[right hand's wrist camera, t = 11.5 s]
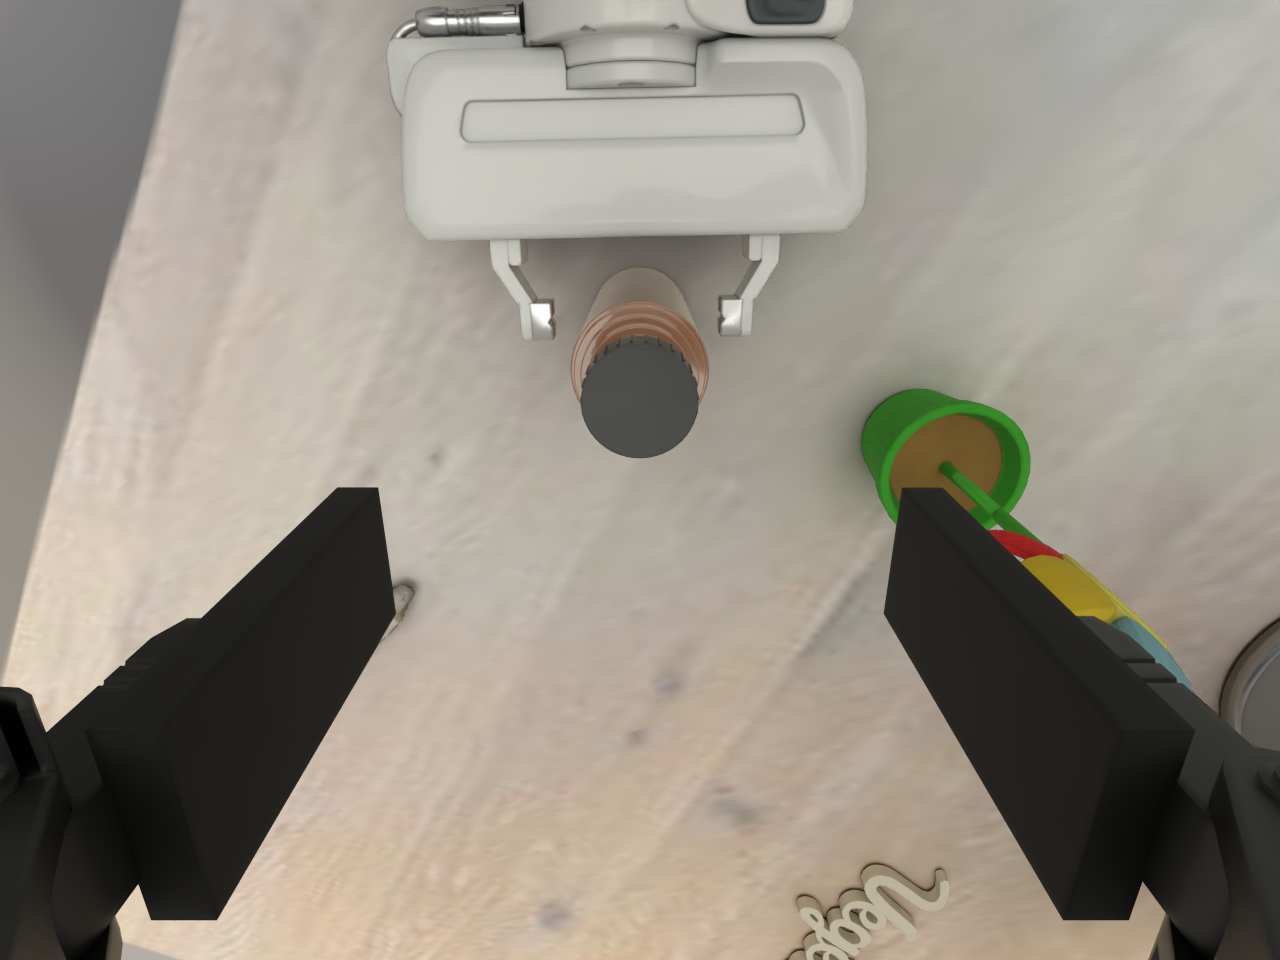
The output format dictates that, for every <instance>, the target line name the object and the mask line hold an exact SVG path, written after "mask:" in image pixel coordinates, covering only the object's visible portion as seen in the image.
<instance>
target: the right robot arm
mask: <svg viewBox="0 0 1280 960" xmlns="http://www.w3.org/2000/svg"><path fill="white" fill-rule="evenodd" d="M395 615H396V609H395V602H394V595H393V588H392V581H391V574H390V567H389V560H388V553H387V546H386V539H385V532H384V525H383V518H382V511H381V504H380V497H379V490H378V488H336V489H335V490H334V491H333V492H332V493H331V494H330V495H329V496H328V497H327V498H326V499H325V500H324V501H323V502H322V503H321V504H320V505H319V506H318V507H317V508H316V509H315V510H314V511H312V512H311V513H310V514H309V515H308V516H307V517H306V518H305V519H304V520H303V521H302V522H301V523H300V524H299V525H298V526H297V527H296V528H295V529H294V530H293V531H292V532H291V533H290V534H289V535H287V536H286V537H285V538H284V539H283V540H282V541H281V542H280V543H279V544H278V545H277V546H276V547H275V548H274V549H273V550H272V551H271V552H270V553H269V554H268V555H267V556H266V557H265V558H264V559H262V560H261V561H260V562H259V563H258V564H257V565H256V566H255V567H254V568H253V569H252V570H251V571H250V572H249V573H248V574H247V575H246V576H245V577H244V578H243V579H242V580H241V581H240V582H239V583H237V584H236V585H235V586H234V587H233V588H232V589H231V590H230V591H229V592H228V593H227V594H226V595H225V596H224V597H223V598H222V599H221V600H220V601H219V602H218V603H217V604H216V605H215V606H214V607H212V608H211V609H210V610H209V611H208V612H207V613H206V614H205V615H204V616H203V617H202V618H187V619H185V620H183V621H181V622H179V623H178V624H176V625H174V626H172V627H170V628H168V629H167V630H165V631H163V632H161V633H159V634H158V635H156V636H154V637H152V638H151V639H150V640H148V641H147V642H146V643H145V644H144V645H143V646H142V647H141V648H140V649H138V650H137V651H136V652H135V653H134V654H133V655H132V656H131V657H130V658H128V659H127V660H126V661H125V662H126V664H125V666H120V667H119V668H117V669H116V670H115V671H114V672H113V673H112V674H111V675H110V676H109V677H107V678H106V679H105V680H104V685H103V686H97V687H96V688H95V689H94V690H93V691H92V692H91V693H90V694H89V695H87V696H86V697H85V698H84V699H83V700H82V701H81V702H80V703H79V704H77V705H76V706H75V707H74V708H73V709H72V710H71V711H70V712H69V713H68V714H66V715H65V716H64V717H63V718H62V719H61V720H60V721H59V722H58V723H56V724H55V725H54V726H53V727H52V728H51V729H50V730H49V731H48V732H46V731H45V729H44V726H43V723H42V721H41V718H40V715H39V713H38V710H37V707H36V705H35V702H34V699H33V697H32V695H31V694H29V693H28V692H26V691H24V690H22V689H20V688H15V687H0V960H121V953H122V945H123V943H122V938H121V932H120V928H119V925H118V922H117V920H116V917H115V915H116V914H117V912H118V911H119V910H120V908H121V907H122V905H123V904H124V903H125V901H126V900H127V899H128V897H129V896H130V894H131V893H132V892H133V890H134V889H135V888H136V886H137V885H138V884H139V887H140V890H141V893H142V895H143V898H144V901H145V904H146V907H147V910H148V912H149V915H150V918H151V920H217V919H218V917H219V916H220V914H221V912H222V911H223V909H224V907H225V905H226V904H227V902H228V900H229V899H230V897H231V895H232V893H233V892H234V890H235V888H236V887H237V885H238V883H239V881H240V880H241V878H242V876H243V875H244V873H245V871H246V870H247V868H248V866H249V864H250V863H251V861H252V859H253V858H254V856H255V854H256V852H257V851H258V849H259V847H260V846H261V844H262V842H263V840H264V839H265V837H266V835H267V834H268V832H269V830H270V829H271V827H272V825H273V823H274V822H275V820H276V818H277V817H278V815H279V813H280V811H281V810H282V808H283V806H284V805H285V803H286V801H287V799H288V798H289V796H290V794H291V793H292V791H293V789H294V788H295V786H296V784H297V782H298V781H299V779H300V777H301V776H302V774H303V772H304V770H305V769H306V767H307V765H308V764H309V762H310V760H311V758H312V757H313V755H314V753H315V752H316V750H317V748H318V746H319V745H320V743H321V741H322V740H323V738H324V736H325V735H326V733H327V731H328V729H329V728H330V726H331V724H332V723H333V721H334V719H335V717H336V716H337V714H338V712H339V711H340V709H341V707H342V705H343V704H344V702H345V700H346V699H347V697H348V695H349V694H350V692H351V690H352V688H353V687H354V685H355V683H356V682H357V680H358V678H359V676H360V675H361V673H362V671H363V670H364V668H365V666H366V664H367V663H368V661H369V659H370V658H371V656H372V654H373V653H374V651H375V649H376V647H377V646H378V644H379V642H380V641H381V639H382V637H383V635H384V634H385V632H386V630H387V629H388V627H389V625H390V623H391V622H392V620H393V618H394V617H395ZM884 615H885V617H886V618H887V620H888V622H889V623H890V625H891V627H892V629H893V630H894V632H895V634H896V635H897V637H898V639H899V641H900V642H901V644H902V646H903V647H904V649H905V651H906V653H907V654H908V656H909V658H910V659H911V661H912V663H913V664H914V666H915V668H916V670H917V671H918V673H919V675H920V676H921V678H922V680H923V682H924V683H925V685H926V687H927V688H928V690H929V692H930V694H931V695H932V697H933V699H934V700H935V702H936V704H937V705H938V707H939V709H940V711H941V712H942V714H943V716H944V717H945V719H946V721H947V723H948V724H949V726H950V728H951V729H952V731H953V733H954V735H955V736H956V738H957V740H958V741H959V743H960V745H961V746H962V748H963V750H964V752H965V753H966V755H967V757H968V758H969V760H970V762H971V764H972V765H973V767H974V769H975V770H976V772H977V774H978V776H979V777H980V779H981V781H982V782H983V784H984V786H985V788H986V789H987V791H988V793H989V794H990V796H991V798H992V799H993V801H994V803H995V805H996V806H997V808H998V810H999V811H1000V813H1001V815H1002V817H1003V818H1004V820H1005V822H1006V823H1007V825H1008V827H1009V829H1010V830H1011V832H1012V834H1013V835H1014V837H1015V839H1016V840H1017V842H1018V844H1019V846H1020V847H1021V849H1022V851H1023V852H1024V854H1025V856H1026V858H1027V859H1028V861H1029V863H1030V864H1031V866H1032V868H1033V870H1034V871H1035V873H1036V875H1037V876H1038V878H1039V880H1040V881H1041V883H1042V885H1043V887H1044V888H1045V890H1046V892H1047V893H1048V895H1049V897H1050V899H1051V900H1052V902H1053V904H1054V905H1055V907H1056V909H1057V911H1058V912H1059V914H1060V916H1061V917H1062V919H1063V920H1129V918H1130V915H1131V912H1132V910H1133V907H1134V904H1135V901H1136V898H1137V895H1138V893H1139V890H1140V887H1141V884H1142V881H1143V882H1144V884H1145V885H1146V886H1147V888H1148V889H1149V891H1150V892H1151V893H1152V895H1153V896H1154V897H1155V899H1156V900H1157V901H1158V903H1159V904H1160V905H1161V907H1162V908H1163V910H1164V911H1165V912H1166V914H1165V917H1164V920H1163V922H1162V925H1161V928H1160V930H1159V933H1158V936H1157V938H1156V941H1155V943H1154V946H1153V949H1152V951H1151V954H1150V957H1149V959H1148V960H1280V621H1278V622H1277V623H1275V624H1274V625H1273V626H1271V627H1270V628H1269V629H1267V630H1266V631H1265V632H1264V633H1263V634H1262V635H1260V636H1259V637H1258V638H1257V639H1256V640H1255V641H1254V642H1253V643H1252V644H1251V645H1250V646H1249V647H1248V649H1247V650H1246V651H1245V652H1244V653H1243V655H1242V656H1241V657H1240V659H1239V660H1238V661H1237V663H1236V665H1235V666H1234V668H1233V669H1232V671H1231V673H1230V675H1229V677H1228V679H1227V682H1226V685H1225V687H1224V691H1223V695H1222V700H1221V717H1220V716H1219V715H1218V714H1217V713H1215V712H1214V711H1213V710H1212V709H1211V708H1210V707H1209V706H1208V705H1207V704H1205V703H1204V702H1203V701H1202V700H1201V699H1200V698H1199V697H1198V696H1196V695H1195V694H1194V693H1193V692H1192V691H1191V690H1190V689H1189V688H1188V687H1186V686H1185V685H1184V684H1183V683H1178V682H1177V678H1176V677H1175V676H1174V675H1173V674H1172V673H1171V672H1170V671H1169V670H1167V669H1166V668H1165V667H1164V666H1163V665H1162V664H1161V663H1156V662H1155V658H1154V657H1153V656H1152V655H1151V654H1150V653H1148V652H1147V651H1146V650H1145V649H1144V648H1143V647H1142V646H1141V645H1140V644H1138V643H1137V642H1136V641H1135V640H1134V639H1133V638H1132V637H1131V636H1129V635H1128V634H1126V633H1124V632H1122V631H1120V630H1118V629H1117V628H1115V627H1113V626H1111V625H1109V624H1108V623H1106V622H1104V621H1102V620H1100V619H1098V618H1097V617H1095V616H1076V615H1075V614H1074V613H1073V612H1072V611H1071V610H1070V609H1069V608H1068V607H1066V606H1065V605H1064V604H1063V603H1062V602H1061V601H1060V600H1059V599H1058V598H1057V597H1056V596H1055V595H1054V594H1053V593H1052V592H1051V591H1050V590H1049V589H1048V588H1047V587H1046V586H1045V585H1044V584H1043V583H1041V582H1040V581H1039V580H1038V579H1037V578H1036V577H1035V576H1034V575H1033V574H1032V573H1031V572H1030V571H1029V570H1028V569H1027V568H1026V567H1025V566H1024V565H1023V564H1022V563H1021V562H1020V561H1019V560H1018V559H1016V558H1015V557H1014V556H1013V555H1012V554H1011V553H1010V552H1009V551H1008V550H1007V549H1006V548H1005V547H1004V546H1003V545H1002V544H1001V543H1000V542H999V541H998V540H997V539H996V538H995V537H994V536H993V535H991V534H990V533H989V532H988V531H987V530H986V529H985V528H984V527H983V526H982V525H981V524H980V523H979V522H978V521H977V520H976V519H975V518H974V517H973V516H972V515H971V514H970V513H969V512H968V511H966V510H965V509H964V508H963V507H962V506H961V505H960V504H959V503H958V502H957V501H956V500H955V499H954V498H953V497H952V496H951V495H950V494H949V493H948V492H947V491H946V490H945V489H944V488H902V490H901V497H900V504H899V511H898V518H897V525H896V532H895V539H894V546H893V553H892V560H891V567H890V574H889V581H888V588H887V595H886V602H885V609H884Z"/></svg>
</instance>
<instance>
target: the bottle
mask: <svg viewBox="0 0 1280 960" xmlns="http://www.w3.org/2000/svg"><path fill="white" fill-rule="evenodd" d="M632 334H633V336H645V334H647V336H649V337H654V338H657V339H658V338H659V337H660V338H661V340H662V341H665V342H667V343H668V344H671V343H672V344H673V346H674V348H675V349H677V350H678V351H679V352H680V353H683V354H684V357H685V359H686V361H687V362H688V364H691V367H692V370H693V377H694V376H695V377H696V380H697V384H698V387H697V392H698V395H699V400H698V405H699V403H700V401H701V399H702V397H703V395H704V393H705V390H706V387H707V382H708V374H709V365H708V357H707V352H706V349H705V346H704V343H703V341H702V338H701V336H700V334H699V332H698V329H697V327H696V325H695V322H694V320H693V318H692V315H691V313H690V311H689V309H688V306H687V304H686V302H685V299H684V297H683V295H682V293H681V291H680V289H679V288H678V286H677V285H676V284H675V283H674V282H673V280H671V279H670V278H669V277H668V276H666V275H665V274H663V273H661V272H659V271H657V270H654V269H651V268H646V267H634V268H629V269H625V270H623V271H620V272H618V273H616V274H615V275H613V276H612V277H611V278H609V279H608V280H607V281H606V282H605V283H604V285H603V286H602V287H601V289H600V290H599V292H598V294H597V296H596V299H595V301H594V303H593V305H592V308H591V310H590V312H589V315H588V317H587V319H586V321H585V324H584V326H583V328H582V331H581V333H580V335H579V337H578V340H577V342H576V344H575V347H574V350H573V354H572V359H571V379H572V385H573V388H574V392H575V394H576V396H577V399H578V401H579V402H580V398H581V394H582V388H581V385H582V382H583V379H584V378H586V375H585V373H586V370H587V367H588V365H591V363H592V361H593V360H594V356H595V354H598V353H600V352H601V351H602V350H603V349H604V347H605V345H606V344H607V345H609V344H611V343H613V342H615V341H617V338H620V339H622V338H626V337H630V336H631V335H632ZM580 404H581V402H580Z"/></svg>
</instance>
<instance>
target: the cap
mask: <svg viewBox="0 0 1280 960" xmlns="http://www.w3.org/2000/svg"><path fill="white" fill-rule="evenodd" d="M585 375H586V378H584V379H583V382H582V385H581V388H582V394H581V398H580V402H581V409H582V415H583V418H584V421H585V423H586V425H587V427H588V429H589V431H590V432H591V434H592V435H593V436H594V438H595V439H596V440H597V441H598V442H599V443H600V444H602V445H603V446H604V447H605V448H607V449H609V450H610V451H612V452H614V453H617V454H619V455H622V456H626V457H631V458H649V457H653V456H657V455H660V454H663V453H665V452H667V451H669V450H671V449H672V448H674V447H675V446H677V445H678V444H679V443H680V442H681V441H682V440H683V439H684V438H685V437H686V436H687V434H688V433H689V431H690V430H691V428H692V426H693V424H694V422H695V419H696V416H697V413H698V400H699V395H698V392H697V387H698V384H697V380H696V377H695V376H694V377H693V370H692V367H691V364H688V362H687V361H686V359H685V357H684V354H683V353H680V352H679V351H678V350H677V349H675V348H674V346H673V344H672V343H671V344H668V343H667V342H665V341H662V340H661V338H660V337H659V338H658V339H657V338H654V337H649V336H647V334H645V336H633V334H632V335H631V336H630V337H626V338H622V339H620V338H617V341H615V342H613V343H611V344H609V345H607V344H606V345H605V347H604V349H603V350H602V351H601V352H600V353H598V354H595V356H594V360H593V361H592V363H591V365H588V367H587V370H586V373H585Z"/></svg>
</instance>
